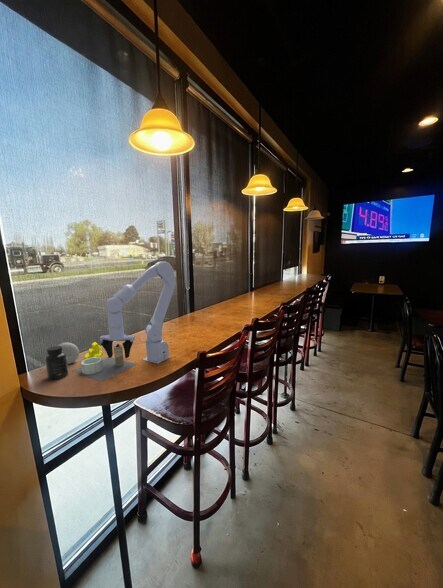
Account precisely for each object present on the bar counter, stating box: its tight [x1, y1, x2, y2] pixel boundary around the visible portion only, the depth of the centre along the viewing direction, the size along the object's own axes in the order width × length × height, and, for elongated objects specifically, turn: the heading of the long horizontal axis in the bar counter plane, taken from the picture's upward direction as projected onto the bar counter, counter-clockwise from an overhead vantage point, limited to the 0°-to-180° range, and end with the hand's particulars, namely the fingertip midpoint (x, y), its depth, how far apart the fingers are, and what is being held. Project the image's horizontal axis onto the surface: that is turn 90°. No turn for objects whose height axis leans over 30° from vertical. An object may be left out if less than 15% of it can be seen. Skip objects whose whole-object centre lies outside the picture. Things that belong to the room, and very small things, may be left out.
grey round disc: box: [57, 341, 80, 365], centre depth 109 cm, size 10×4×10 cm, turn 106°
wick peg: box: [113, 343, 125, 366], centre depth 106 cm, size 3×3×9 cm
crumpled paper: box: [84, 341, 104, 360], centre depth 115 cm, size 6×8×8 cm
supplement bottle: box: [44, 345, 69, 381], centre depth 97 cm, size 7×7×12 cm
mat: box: [71, 356, 138, 382], centre depth 104 cm, size 19×17×1 cm
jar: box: [80, 357, 103, 375], centre depth 101 cm, size 8×8×4 cm
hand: (118, 357), depth 106 cm, fingers open, 7 cm apart
